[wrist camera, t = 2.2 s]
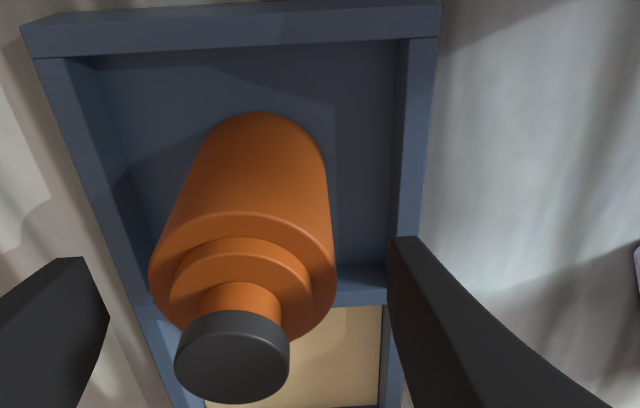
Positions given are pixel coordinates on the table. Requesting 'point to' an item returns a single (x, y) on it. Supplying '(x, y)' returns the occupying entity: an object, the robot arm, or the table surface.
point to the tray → (243, 97)
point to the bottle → (246, 258)
